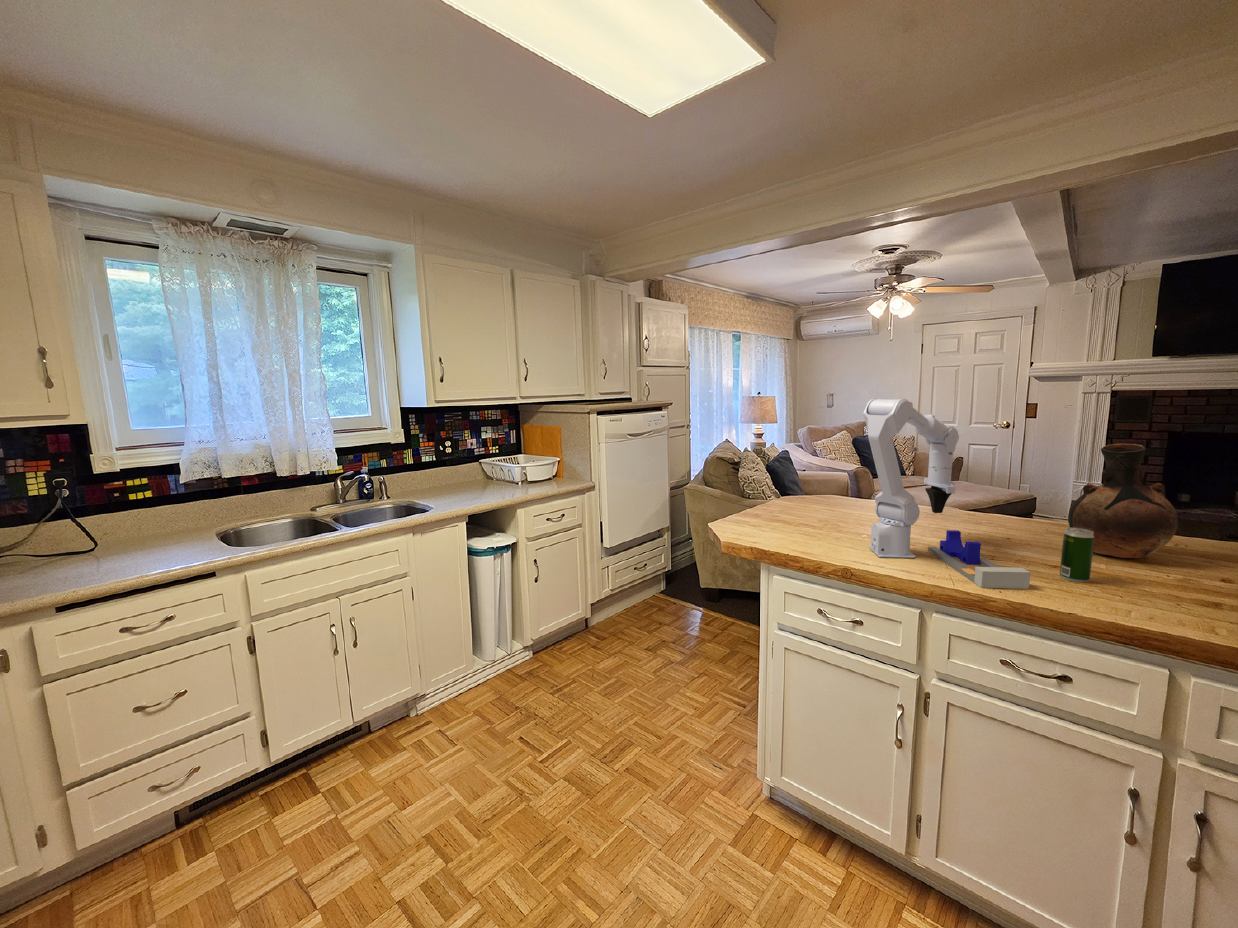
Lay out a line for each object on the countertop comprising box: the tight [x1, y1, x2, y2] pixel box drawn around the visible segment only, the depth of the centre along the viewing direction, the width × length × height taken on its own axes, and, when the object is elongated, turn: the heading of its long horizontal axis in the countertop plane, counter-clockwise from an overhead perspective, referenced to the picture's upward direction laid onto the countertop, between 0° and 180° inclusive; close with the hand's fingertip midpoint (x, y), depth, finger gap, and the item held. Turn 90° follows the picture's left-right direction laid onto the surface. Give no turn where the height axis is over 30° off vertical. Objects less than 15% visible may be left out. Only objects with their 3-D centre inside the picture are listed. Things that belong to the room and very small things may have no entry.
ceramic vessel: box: [1067, 443, 1179, 559], centre depth 133 cm, size 21×18×30 cm
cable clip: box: [939, 529, 982, 566], centre depth 137 cm, size 12×4×6 cm, turn 170°
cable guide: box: [927, 546, 1031, 590], centre depth 129 cm, size 10×27×4 cm, turn 172°
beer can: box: [1059, 527, 1095, 583], centre depth 120 cm, size 5×5×12 cm
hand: (937, 512), depth 148 cm, fingers closed
